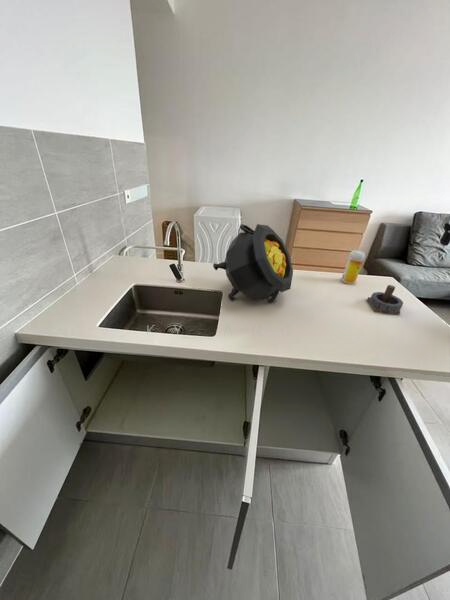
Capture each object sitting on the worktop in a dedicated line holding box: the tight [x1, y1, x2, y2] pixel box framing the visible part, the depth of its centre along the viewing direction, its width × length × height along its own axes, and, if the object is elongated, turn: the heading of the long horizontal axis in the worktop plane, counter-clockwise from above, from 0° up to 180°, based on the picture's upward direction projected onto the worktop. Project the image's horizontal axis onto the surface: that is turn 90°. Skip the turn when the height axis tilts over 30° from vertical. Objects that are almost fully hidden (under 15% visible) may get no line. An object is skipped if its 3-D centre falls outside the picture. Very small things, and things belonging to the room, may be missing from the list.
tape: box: [370, 291, 404, 312], centre depth 97 cm, size 11×11×2 cm
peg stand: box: [366, 284, 401, 316], centre depth 96 cm, size 9×9×10 cm
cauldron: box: [212, 223, 294, 303], centre depth 95 cm, size 28×28×24 cm
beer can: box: [341, 249, 366, 285], centre depth 113 cm, size 6×6×15 cm
